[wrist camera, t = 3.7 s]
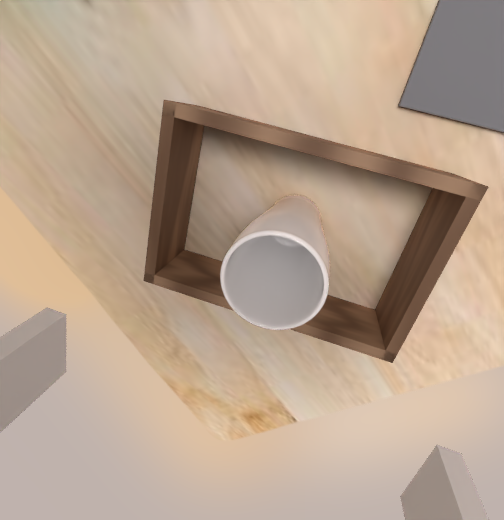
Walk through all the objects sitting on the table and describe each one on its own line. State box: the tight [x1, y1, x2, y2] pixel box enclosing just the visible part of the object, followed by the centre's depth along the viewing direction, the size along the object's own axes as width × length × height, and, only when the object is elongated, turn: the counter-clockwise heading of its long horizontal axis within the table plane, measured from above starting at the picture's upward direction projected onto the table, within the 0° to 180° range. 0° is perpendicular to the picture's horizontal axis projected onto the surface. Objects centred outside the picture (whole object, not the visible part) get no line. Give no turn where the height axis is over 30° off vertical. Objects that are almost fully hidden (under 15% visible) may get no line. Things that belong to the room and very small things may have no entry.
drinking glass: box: [220, 195, 330, 330], centre depth 26 cm, size 7×7×15 cm
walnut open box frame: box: [144, 100, 488, 363], centre depth 30 cm, size 24×16×7 cm, turn 76°
